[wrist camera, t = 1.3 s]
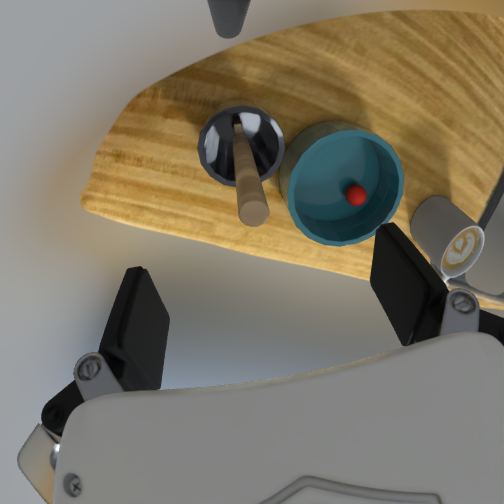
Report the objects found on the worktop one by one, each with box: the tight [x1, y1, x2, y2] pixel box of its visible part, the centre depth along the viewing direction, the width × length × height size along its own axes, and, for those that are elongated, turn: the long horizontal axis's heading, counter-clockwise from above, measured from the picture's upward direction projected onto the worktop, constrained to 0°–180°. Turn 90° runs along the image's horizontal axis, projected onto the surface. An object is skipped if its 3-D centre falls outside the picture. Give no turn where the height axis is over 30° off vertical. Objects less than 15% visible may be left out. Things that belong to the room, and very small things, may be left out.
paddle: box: [233, 117, 269, 227], centre depth 24 cm, size 4×2×22 cm, turn 9°
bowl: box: [279, 121, 404, 247], centre depth 35 cm, size 16×16×6 cm
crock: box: [197, 99, 285, 187], centre depth 29 cm, size 8×8×9 cm
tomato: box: [346, 185, 367, 206], centre depth 37 cm, size 3×3×3 cm
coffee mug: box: [410, 195, 484, 281], centre depth 40 cm, size 13×10×10 cm
